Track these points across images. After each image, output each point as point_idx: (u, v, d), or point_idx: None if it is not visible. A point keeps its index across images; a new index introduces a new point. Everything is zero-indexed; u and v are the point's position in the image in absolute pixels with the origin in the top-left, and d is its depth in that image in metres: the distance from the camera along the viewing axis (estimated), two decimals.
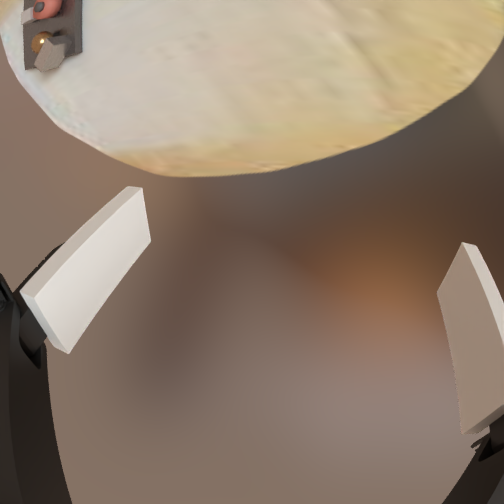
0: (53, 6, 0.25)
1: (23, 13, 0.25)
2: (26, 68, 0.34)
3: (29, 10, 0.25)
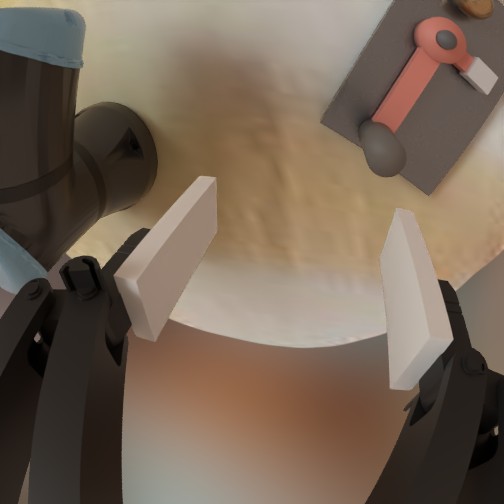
0: (426, 19, 0.16)
1: (484, 87, 0.18)
2: None
3: (471, 73, 0.17)
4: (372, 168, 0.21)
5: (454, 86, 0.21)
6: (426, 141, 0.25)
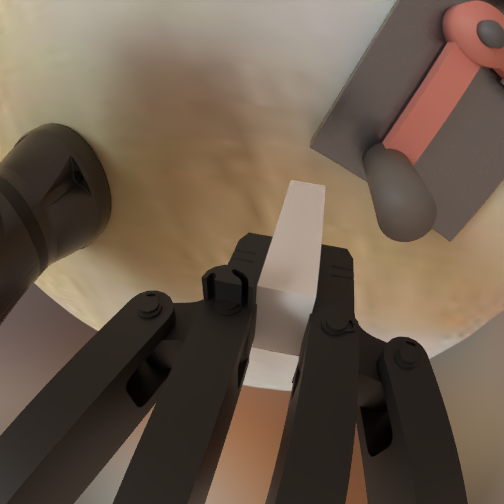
0: (460, 4, 0.09)
1: None
2: None
3: None
4: (385, 230, 0.14)
5: (493, 99, 0.14)
6: (453, 172, 0.18)
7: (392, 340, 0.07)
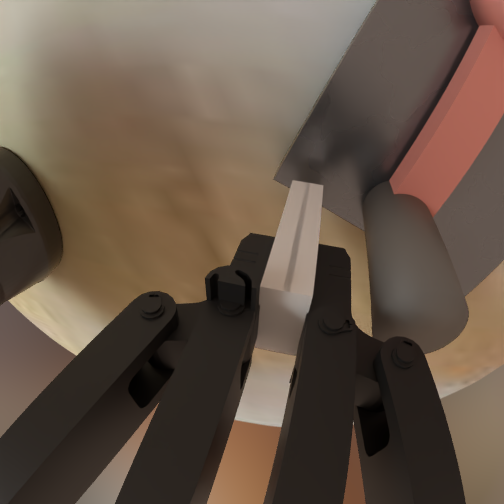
0: None
1: None
2: None
3: None
4: None
5: None
6: (478, 213, 0.12)
7: (389, 340, 0.07)
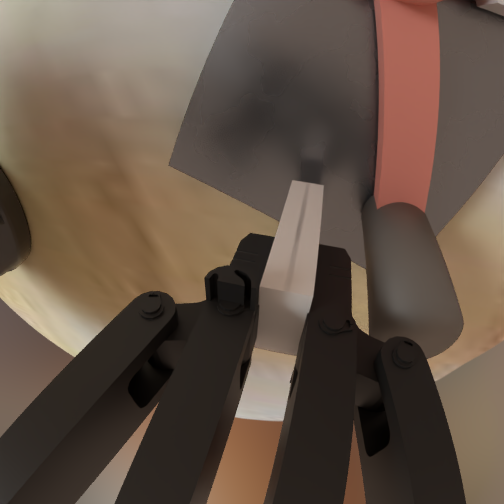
0: None
1: None
2: None
3: None
4: None
5: (449, 64, 0.09)
6: None
7: (389, 340, 0.07)
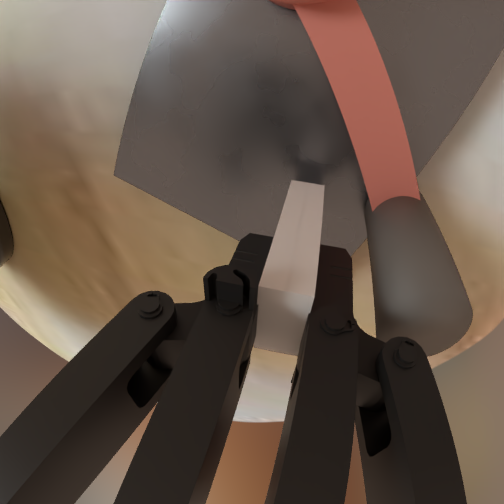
0: None
1: None
2: None
3: None
4: None
5: None
6: None
7: (391, 340, 0.07)
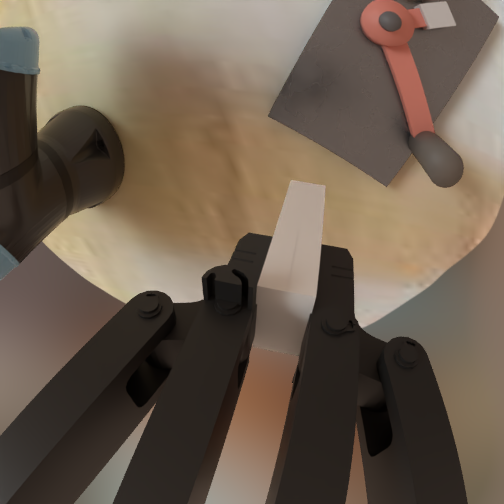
0: (361, 20, 0.18)
1: (448, 22, 0.15)
2: (494, 14, 0.14)
3: (431, 23, 0.16)
4: (443, 185, 0.20)
5: None
6: (379, 129, 0.26)
7: (392, 340, 0.07)
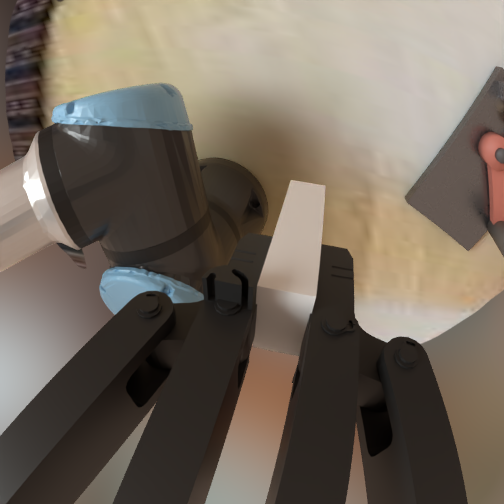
0: (483, 148, 0.27)
1: None
2: None
3: None
4: None
5: None
6: (472, 216, 0.34)
7: (392, 340, 0.07)
